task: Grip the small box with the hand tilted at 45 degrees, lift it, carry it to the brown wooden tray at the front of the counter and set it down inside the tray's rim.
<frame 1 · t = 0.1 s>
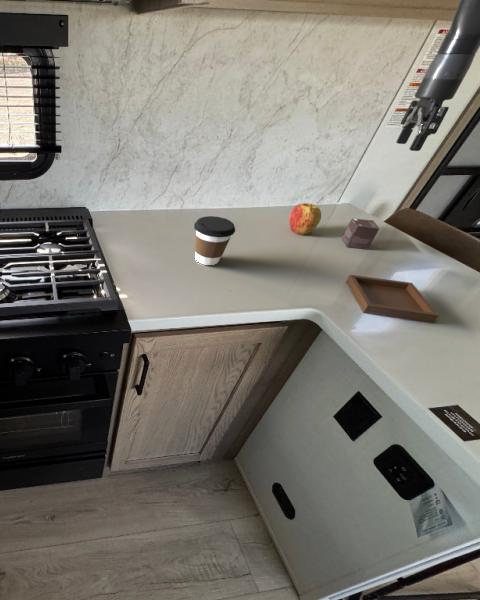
hand: (407, 146, 94), 29 cm above the countertop, tool pointing down, fingers open, 8 cm apart
coffee cup: (206, 261, 102), on the countertop
apple: (298, 232, 117), on the countertop
box: (353, 245, 110), on the countertop
brown wooden tray: (385, 300, 86), on the countertop
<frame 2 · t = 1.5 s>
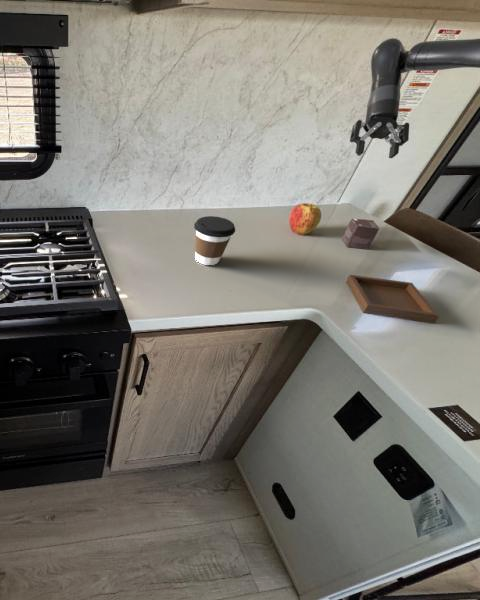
hand: (376, 155, 104), 24 cm above the countertop, tool tilted 45°, fingers open, 8 cm apart
nothing on the countertop moved.
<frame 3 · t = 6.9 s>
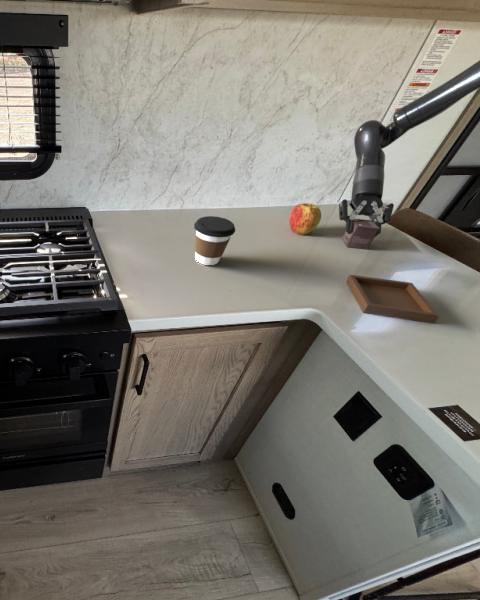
hand: (362, 234, 106), 4 cm above the countertop, tool tilted 45°, fingers closed on box, 6 cm apart
box: (353, 244, 110), on the countertop, touching gripper
everything else where it was.
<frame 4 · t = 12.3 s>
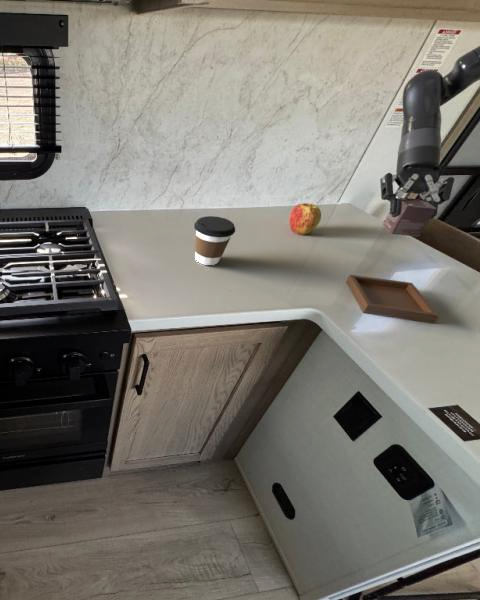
hand: (412, 217, 83), 18 cm above the countertop, tool tilted 45°, fingers closed on box, 6 cm apart
box: (399, 231, 87), point 14 cm above the countertop, touching gripper
everything else where it was.
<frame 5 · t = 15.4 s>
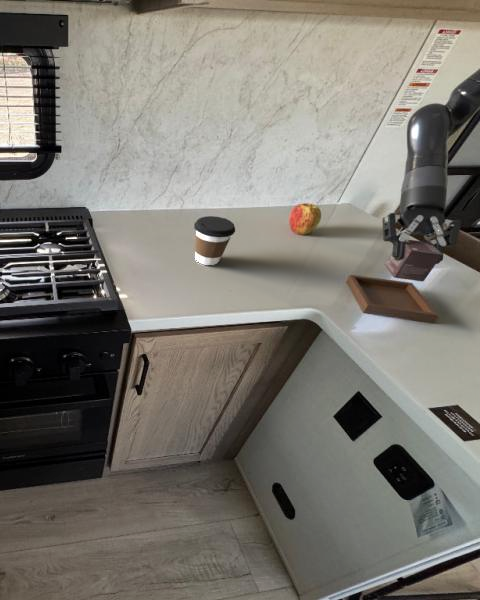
hand: (416, 261, 77), 12 cm above the countertop, tool tilted 45°, fingers closed on box, 6 cm apart
box: (402, 274, 81), point 8 cm above the countertop, touching gripper
everything else where it was.
when the fingers open (5 cm above the countertop, at t = 17.9 s): box stays where it is, resting on brown wooden tray.
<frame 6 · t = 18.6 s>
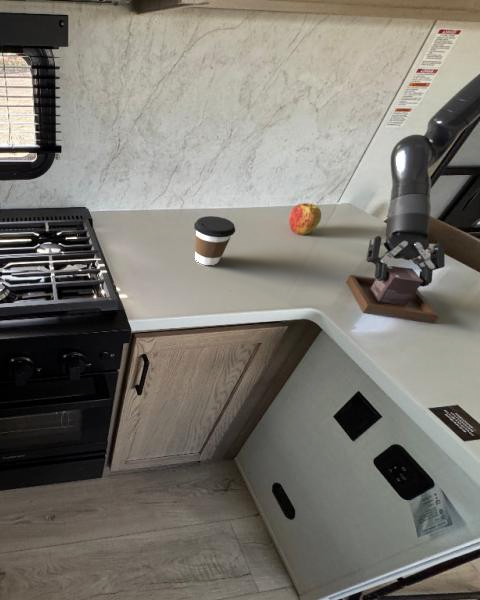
hand: (402, 282, 81), 6 cm above the countertop, tool tilted 45°, fingers open, 8 cm apart
box: (386, 298, 86), point 1 cm above the countertop, touching brown wooden tray
everything else where it was.
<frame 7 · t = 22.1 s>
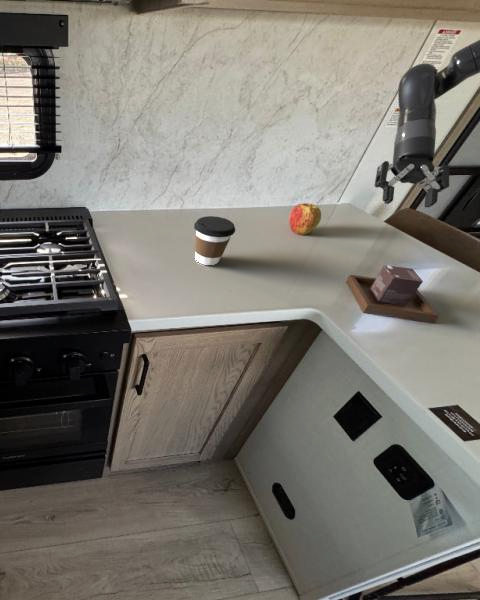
hand: (408, 204, 85), 20 cm above the countertop, tool tilted 45°, fingers open, 8 cm apart
nothing on the countertop moved.
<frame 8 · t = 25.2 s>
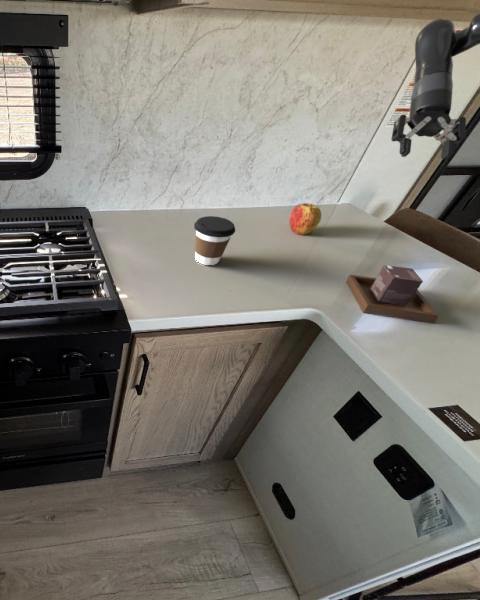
hand: (425, 156, 87), 29 cm above the countertop, tool tilted 45°, fingers open, 8 cm apart
nothing on the countertop moved.
at the end: box inside the target area in the brown wooden tray (0.2 cm from its centre), point 0.6 cm above the brown wooden tray's base; box tilted 0°; the gripper is holding nothing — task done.
